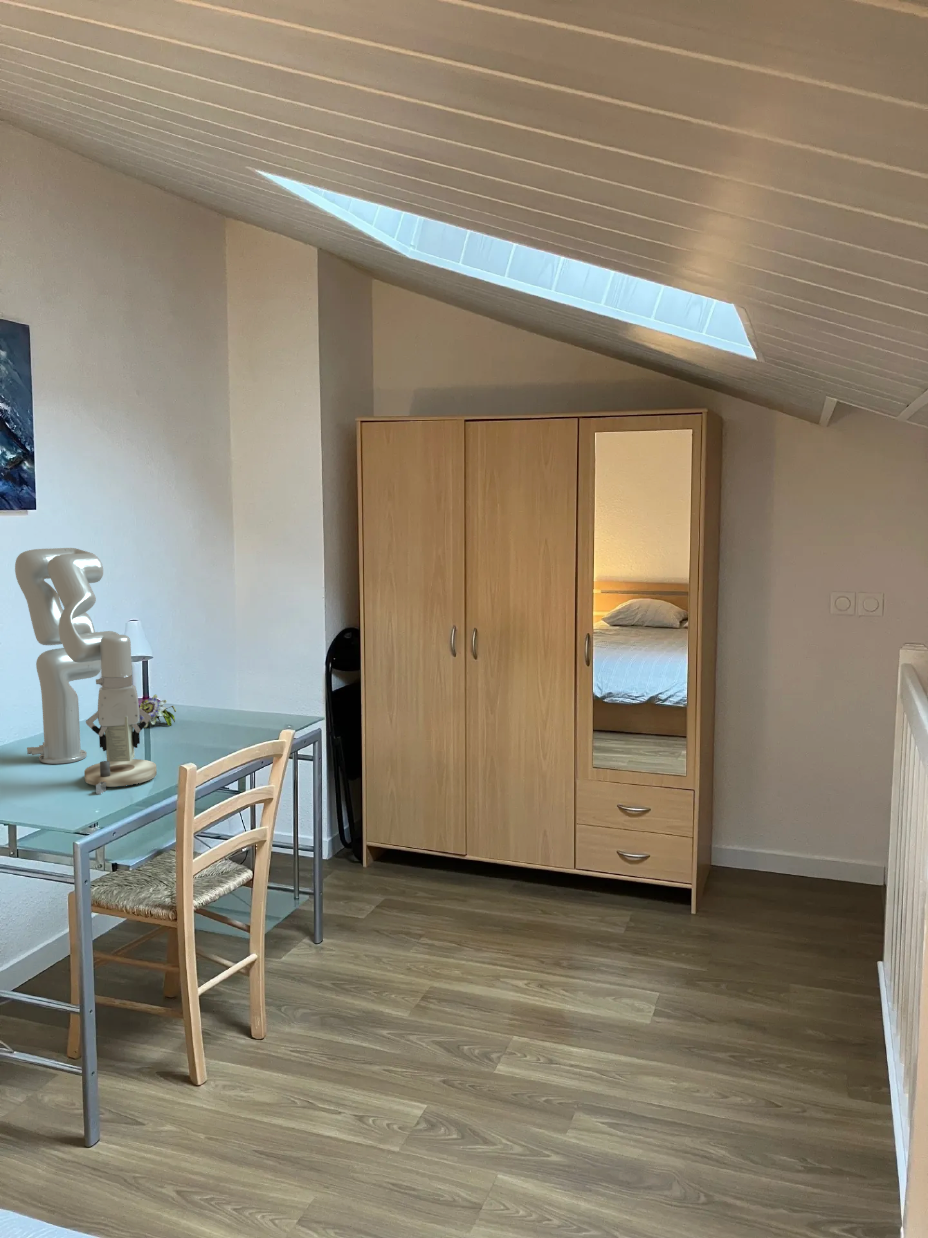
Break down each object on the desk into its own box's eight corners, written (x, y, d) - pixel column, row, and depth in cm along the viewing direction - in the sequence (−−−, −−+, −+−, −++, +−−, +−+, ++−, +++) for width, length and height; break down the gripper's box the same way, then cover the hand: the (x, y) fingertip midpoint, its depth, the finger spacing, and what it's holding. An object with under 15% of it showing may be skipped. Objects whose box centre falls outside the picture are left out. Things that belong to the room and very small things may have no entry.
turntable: (70, 783, 254) (69, 761, 253) (110, 765, 271) (109, 744, 271) (132, 788, 250) (131, 766, 249) (169, 769, 267) (168, 748, 266)
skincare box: (135, 757, 262) (133, 712, 261) (130, 762, 258) (128, 716, 256) (110, 757, 262) (108, 712, 260) (105, 762, 258) (103, 716, 256)
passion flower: (147, 743, 318) (123, 715, 316) (162, 729, 329) (139, 701, 327) (172, 726, 315) (148, 697, 313) (186, 713, 325) (163, 684, 323)
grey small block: (102, 790, 251) (102, 781, 251) (107, 790, 251) (106, 781, 251) (96, 794, 248) (95, 785, 248) (100, 794, 248) (100, 785, 247)
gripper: (82, 687, 250) (85, 755, 253) (153, 682, 257) (156, 748, 260) (80, 682, 257) (83, 748, 259) (149, 677, 264) (152, 741, 266)
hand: (119, 747), depth 259 cm, fingers closed on skincare box, 7 cm apart
